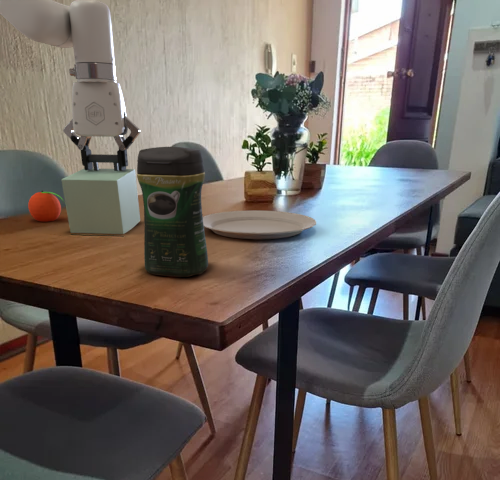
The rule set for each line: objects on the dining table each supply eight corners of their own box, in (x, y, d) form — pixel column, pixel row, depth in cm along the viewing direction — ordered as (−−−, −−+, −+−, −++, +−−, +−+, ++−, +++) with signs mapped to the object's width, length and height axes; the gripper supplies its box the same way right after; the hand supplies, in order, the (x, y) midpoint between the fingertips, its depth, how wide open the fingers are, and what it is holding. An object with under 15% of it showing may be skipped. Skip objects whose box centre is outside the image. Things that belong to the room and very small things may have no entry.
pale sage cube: (114, 163, 97) (133, 153, 107) (58, 162, 98) (82, 152, 108) (123, 236, 103) (140, 220, 114) (70, 235, 104) (92, 219, 115)
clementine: (71, 219, 120) (67, 188, 117) (62, 225, 114) (58, 192, 111) (36, 219, 120) (31, 188, 117) (26, 225, 113) (20, 192, 110)
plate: (327, 242, 100) (327, 232, 99) (196, 243, 98) (196, 233, 97) (305, 218, 123) (305, 210, 123) (199, 219, 122) (199, 210, 121)
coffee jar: (214, 267, 83) (211, 146, 75) (195, 281, 76) (190, 148, 68) (160, 262, 85) (152, 144, 78) (137, 275, 78) (126, 147, 71)
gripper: (45, 73, 97) (58, 171, 104) (134, 73, 96) (141, 172, 103) (61, 76, 104) (72, 167, 111) (144, 76, 103) (150, 168, 110)
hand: (105, 169), depth 107 cm, fingers closed on pale sage cube, 6 cm apart
